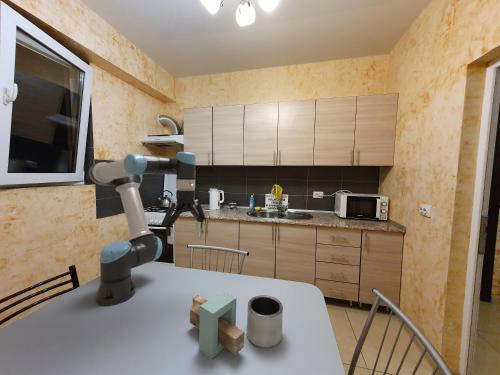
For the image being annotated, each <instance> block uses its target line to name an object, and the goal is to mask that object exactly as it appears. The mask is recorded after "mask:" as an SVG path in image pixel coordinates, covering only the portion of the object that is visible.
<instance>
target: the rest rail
mask: <svg viewBox="0 0 500 375" xmlns="http://www.w3.org/2000/svg"><path fill="white" fill-rule="evenodd" d="M207 301H208V300H207V299H206V298H204V297H202V296H200V295H196V296H194V297H192V308H193V307H195V306H196V305H198V304H199V305H202V304H204V303H206V302H207Z"/></svg>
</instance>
